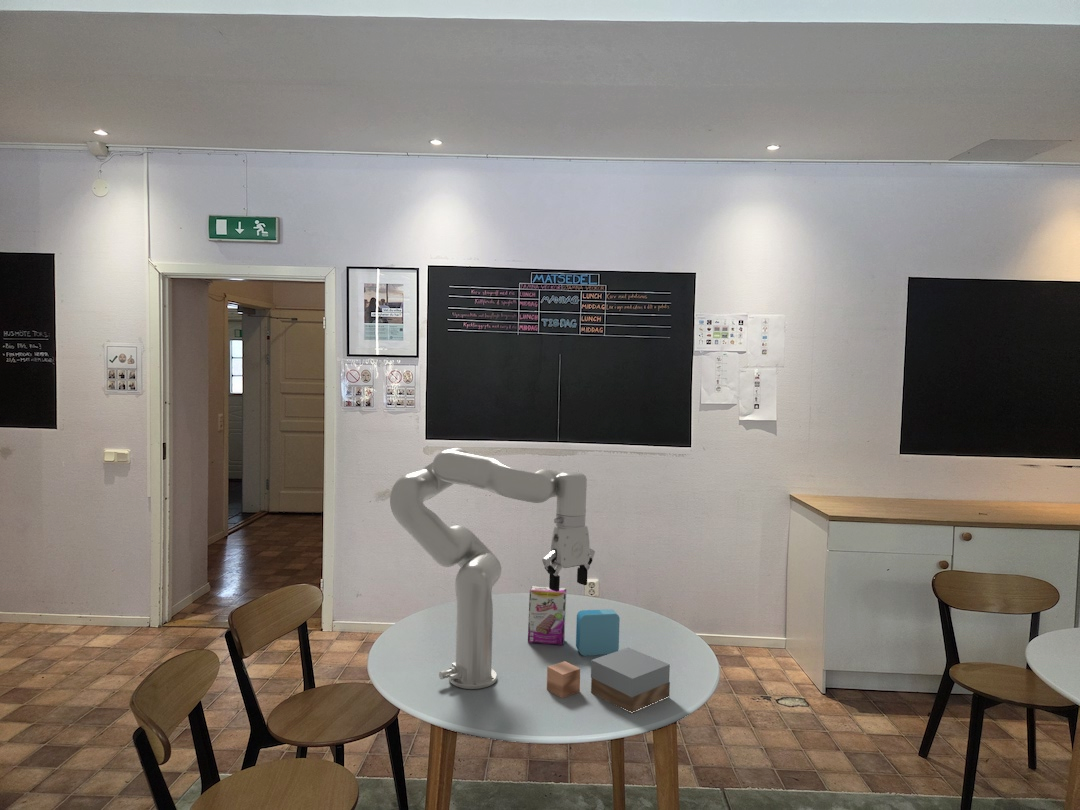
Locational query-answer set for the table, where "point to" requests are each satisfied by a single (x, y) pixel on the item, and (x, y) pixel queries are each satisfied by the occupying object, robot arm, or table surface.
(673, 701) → the table surface
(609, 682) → the tower top
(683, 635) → the table surface
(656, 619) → the table surface
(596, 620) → the blue rounded block
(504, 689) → the table surface
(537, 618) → the candy bar box
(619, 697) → the tower bottom
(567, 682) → the stack block
